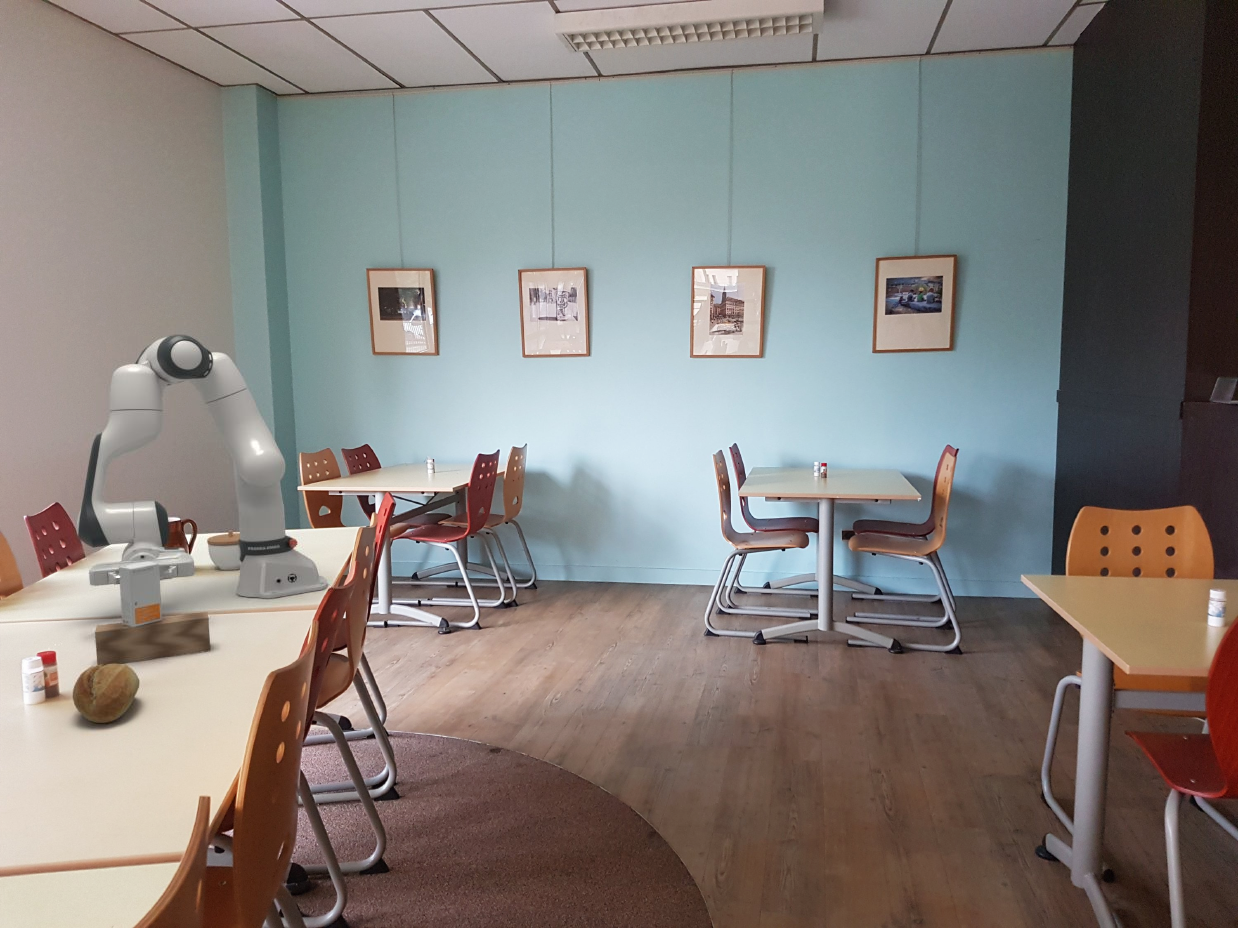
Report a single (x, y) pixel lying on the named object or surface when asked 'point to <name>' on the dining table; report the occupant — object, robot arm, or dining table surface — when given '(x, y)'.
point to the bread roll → (105, 691)
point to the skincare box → (140, 594)
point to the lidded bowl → (225, 550)
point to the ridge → (152, 639)
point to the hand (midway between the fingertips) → (143, 577)
